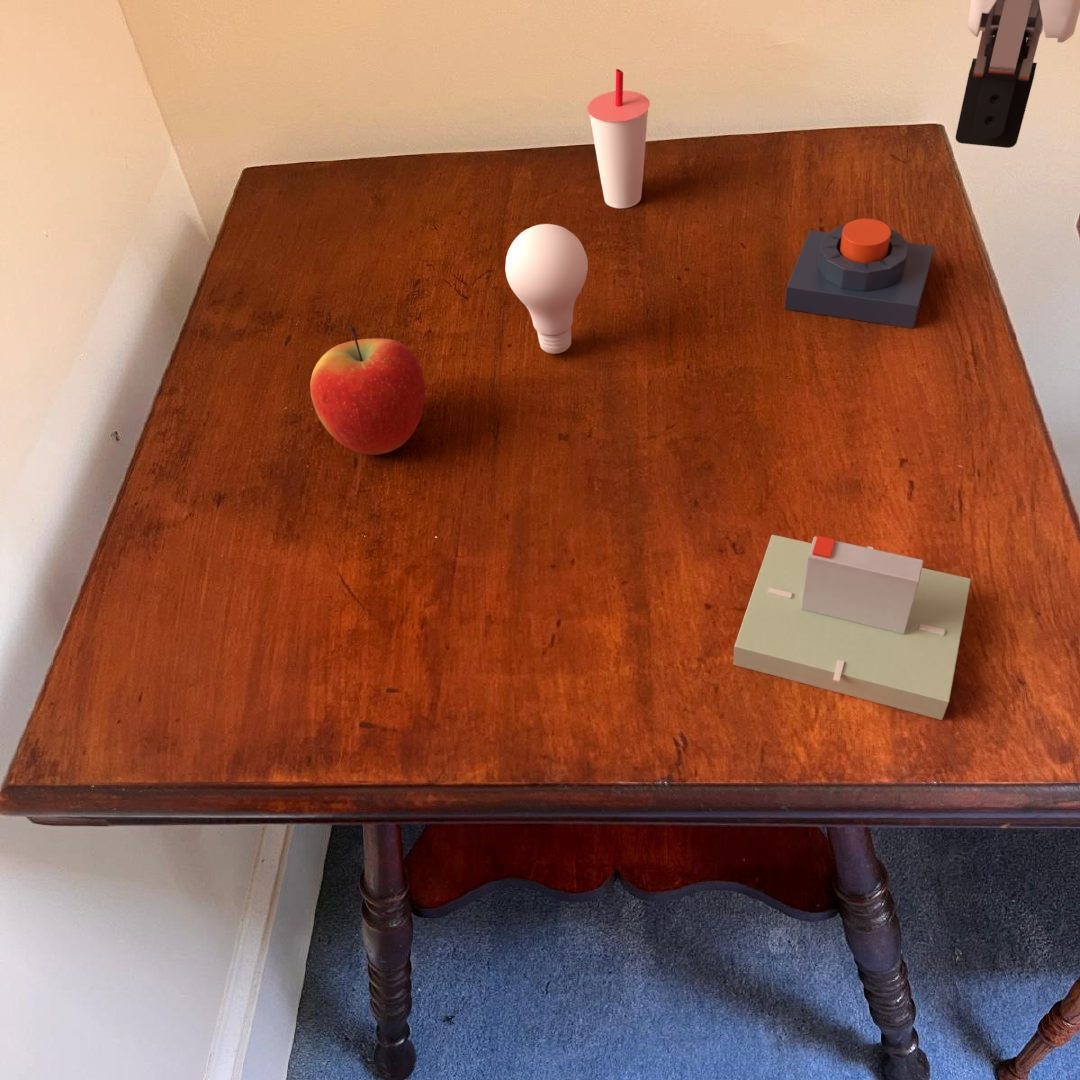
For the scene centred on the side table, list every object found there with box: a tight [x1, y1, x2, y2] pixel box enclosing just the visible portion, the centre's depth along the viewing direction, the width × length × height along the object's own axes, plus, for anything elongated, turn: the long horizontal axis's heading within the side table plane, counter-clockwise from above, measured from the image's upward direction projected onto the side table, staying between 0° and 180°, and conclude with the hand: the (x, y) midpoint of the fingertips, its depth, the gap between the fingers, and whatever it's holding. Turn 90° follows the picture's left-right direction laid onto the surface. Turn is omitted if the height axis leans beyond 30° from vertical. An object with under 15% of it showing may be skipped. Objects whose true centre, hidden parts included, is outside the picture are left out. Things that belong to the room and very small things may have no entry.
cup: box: [586, 68, 651, 209], centre depth 91 cm, size 5×5×12 cm
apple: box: [309, 325, 426, 456], centre depth 74 cm, size 8×8×10 cm
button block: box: [784, 224, 935, 329], centre depth 82 cm, size 10×8×4 cm
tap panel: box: [732, 534, 972, 721], centre depth 62 cm, size 12×10×2 cm
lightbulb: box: [504, 223, 589, 355], centre depth 78 cm, size 6×6×11 cm
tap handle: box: [801, 535, 924, 634], centre depth 59 cm, size 6×2×5 cm, turn 68°
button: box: [840, 218, 891, 263], centre depth 80 cm, size 4×4×2 cm
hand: (986, 137), depth 58 cm, fingers closed
